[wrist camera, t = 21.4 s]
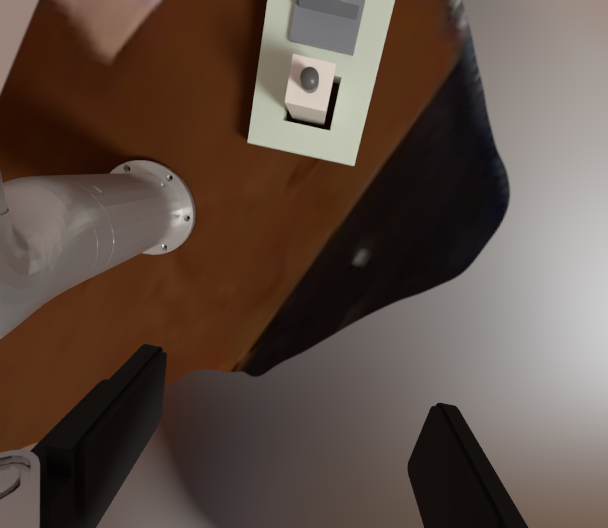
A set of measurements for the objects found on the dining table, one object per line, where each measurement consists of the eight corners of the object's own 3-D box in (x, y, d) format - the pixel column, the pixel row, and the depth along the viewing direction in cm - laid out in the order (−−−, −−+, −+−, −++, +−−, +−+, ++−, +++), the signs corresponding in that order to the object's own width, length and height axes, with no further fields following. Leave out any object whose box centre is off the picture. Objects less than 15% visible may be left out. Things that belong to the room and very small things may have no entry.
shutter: (289, 41, 33) (286, 27, 30) (302, -38, 31) (301, -64, 28) (352, 56, 33) (357, 43, 30) (370, -23, 31) (376, -46, 28)
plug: (292, 118, 38) (282, 97, 27) (298, 82, 37) (291, 45, 26) (323, 125, 38) (327, 107, 27) (331, 90, 37) (337, 56, 26)
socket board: (252, 144, 39) (247, 142, 37) (280, -50, 33) (277, -70, 31) (351, 165, 40) (354, 165, 37) (396, -22, 34) (404, -40, 31)
